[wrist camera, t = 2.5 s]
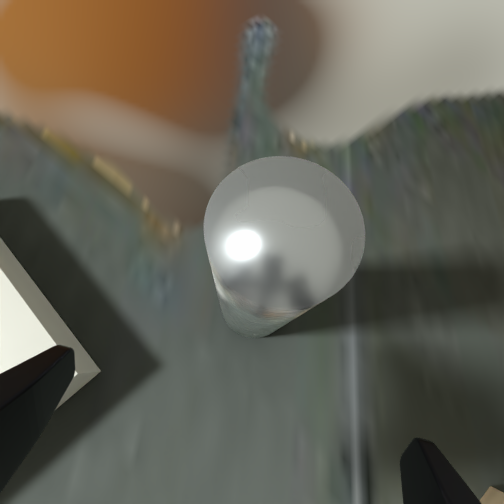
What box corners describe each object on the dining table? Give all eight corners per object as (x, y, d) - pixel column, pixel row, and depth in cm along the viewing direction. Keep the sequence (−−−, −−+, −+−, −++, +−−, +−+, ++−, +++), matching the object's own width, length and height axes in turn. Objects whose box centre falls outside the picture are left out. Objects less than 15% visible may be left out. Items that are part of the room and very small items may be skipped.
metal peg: (299, 307, 21) (397, 233, 8) (251, 352, 20) (283, 345, 7) (255, 260, 22) (286, 129, 9) (207, 302, 21) (169, 219, 8)
